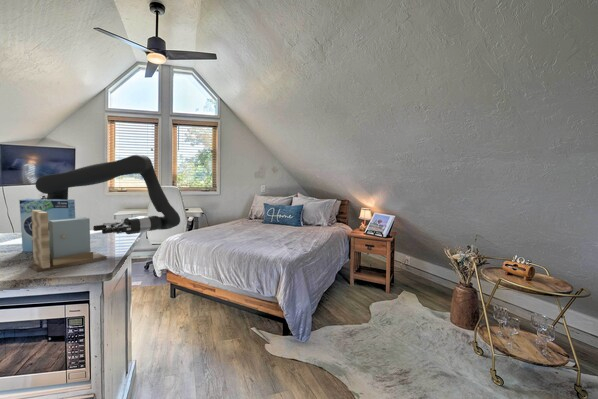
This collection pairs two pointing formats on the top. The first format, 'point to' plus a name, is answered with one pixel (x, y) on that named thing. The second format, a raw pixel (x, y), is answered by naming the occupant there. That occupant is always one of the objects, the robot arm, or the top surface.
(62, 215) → the gum box
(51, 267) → the hinge base
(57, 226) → the grey flat block
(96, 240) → the top surface
